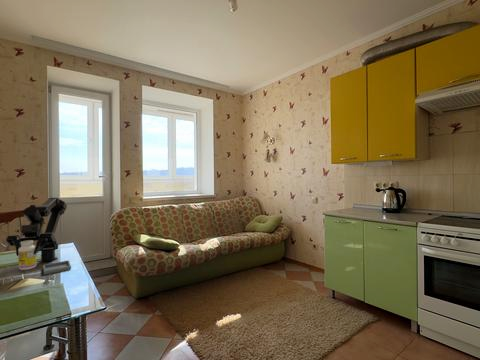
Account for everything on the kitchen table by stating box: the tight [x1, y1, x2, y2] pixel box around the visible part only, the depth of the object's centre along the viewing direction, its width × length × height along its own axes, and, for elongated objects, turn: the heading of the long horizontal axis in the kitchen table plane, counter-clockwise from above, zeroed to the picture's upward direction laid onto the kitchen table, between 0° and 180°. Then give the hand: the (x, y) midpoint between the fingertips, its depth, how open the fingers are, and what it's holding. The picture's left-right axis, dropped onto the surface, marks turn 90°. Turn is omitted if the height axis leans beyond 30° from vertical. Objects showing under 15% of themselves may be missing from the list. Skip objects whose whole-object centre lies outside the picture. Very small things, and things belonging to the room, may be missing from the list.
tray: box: [43, 259, 72, 276], centre depth 137 cm, size 11×11×2 cm
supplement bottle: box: [18, 240, 37, 271], centre depth 126 cm, size 7×7×13 cm
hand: (26, 254), depth 125 cm, fingers closed on supplement bottle, 7 cm apart
